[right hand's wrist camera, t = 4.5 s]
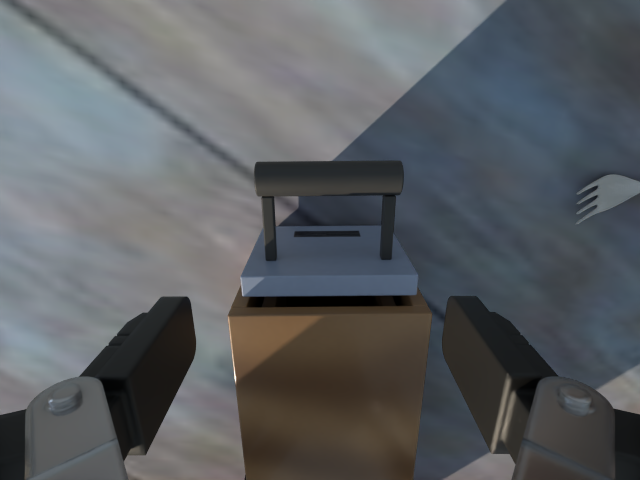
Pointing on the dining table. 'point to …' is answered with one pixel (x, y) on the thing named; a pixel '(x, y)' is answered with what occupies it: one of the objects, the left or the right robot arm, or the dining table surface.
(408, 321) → the cabinet
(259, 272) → the drawer
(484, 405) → the right robot arm
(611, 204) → the fork
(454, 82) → the dining table surface
